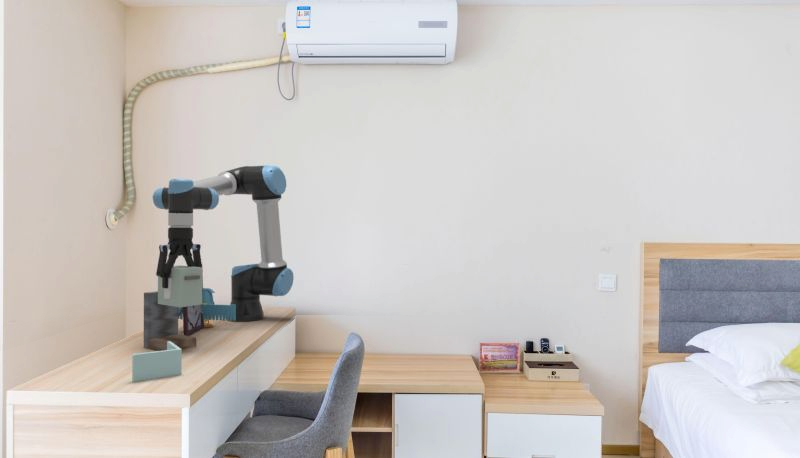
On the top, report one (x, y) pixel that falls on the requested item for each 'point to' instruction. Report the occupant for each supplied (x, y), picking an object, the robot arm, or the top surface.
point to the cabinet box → (183, 287)
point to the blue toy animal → (213, 309)
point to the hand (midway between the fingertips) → (179, 297)
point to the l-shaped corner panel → (157, 363)
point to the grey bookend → (162, 325)
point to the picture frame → (192, 318)
